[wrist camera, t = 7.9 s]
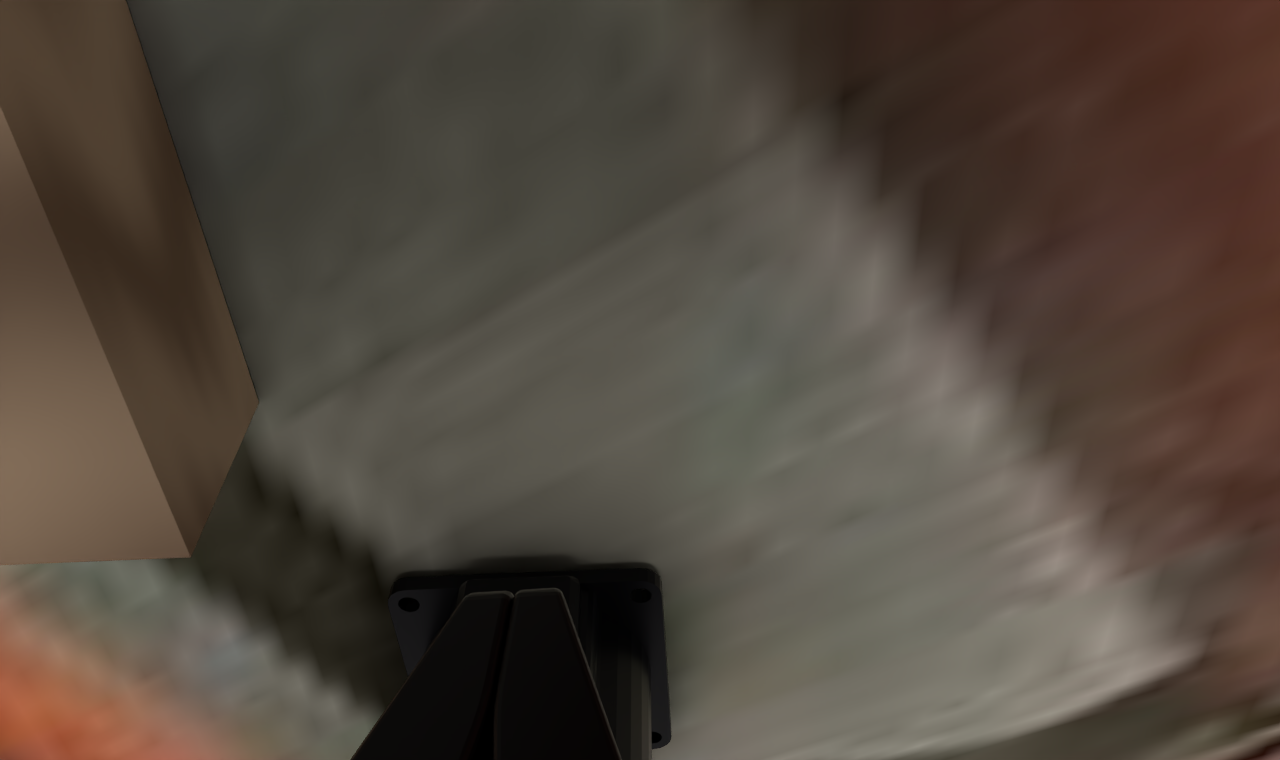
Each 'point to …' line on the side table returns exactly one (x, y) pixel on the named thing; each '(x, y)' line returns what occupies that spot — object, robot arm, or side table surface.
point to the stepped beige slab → (103, 304)
